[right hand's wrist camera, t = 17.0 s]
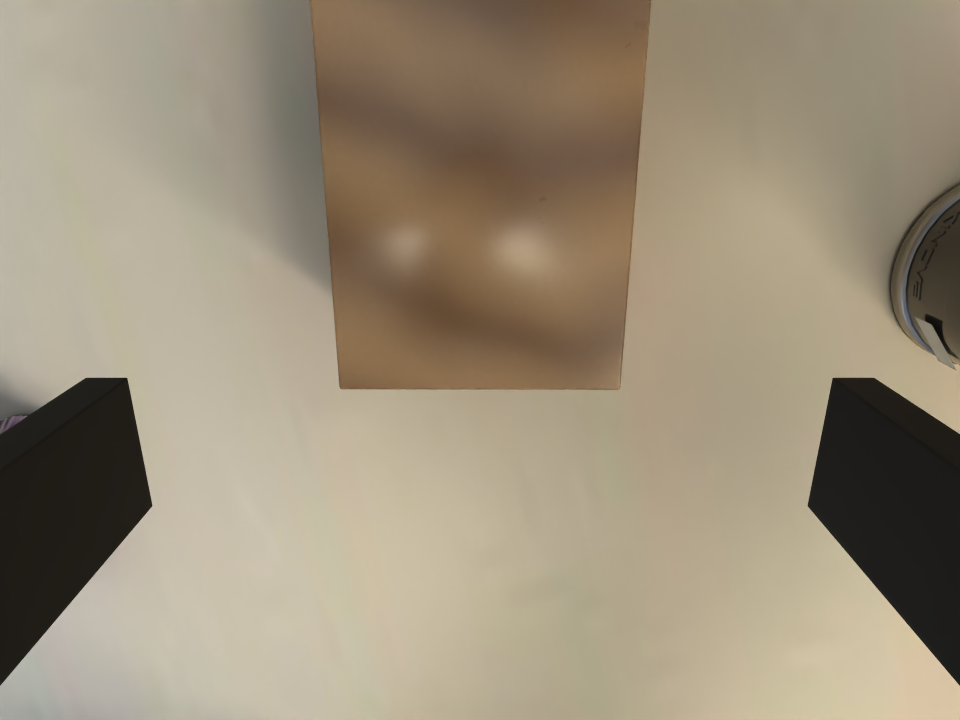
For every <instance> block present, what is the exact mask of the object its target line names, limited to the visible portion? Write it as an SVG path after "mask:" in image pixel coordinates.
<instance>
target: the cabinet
mask: <svg viewBox="0 0 960 720" xmlns="http://www.w3.org/2000/svg"><path fill="white" fill-rule="evenodd" d="M310 8H311V21H312V34H313V47H314V60H315V73H316V86H317V99H318V112H319V125H320V138H321V151H322V164H323V177H324V190H325V203H326V216H327V229H328V243H329V256H330V269H331V282H332V295H333V308H334V321H335V334H336V347H337V360H338V373H339V386H340V389H607V390H618V389H620V384H621V371H622V359H623V346H624V334H625V321H626V309H627V296H628V284H629V271H630V258H631V246H632V233H633V221H634V208H635V196H636V183H637V171H638V158H639V146H640V133H641V121H642V108H643V96H644V83H645V71H646V58H647V46H648V33H649V21H650V8H651V0H310Z"/></svg>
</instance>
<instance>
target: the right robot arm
mask: <svg viewBox="0 0 960 720" xmlns="http://www.w3.org/2000/svg"><path fill="white" fill-rule="evenodd" d="M151 507H152V502H151V496H150V491H149V486H148V481H147V476H146V471H145V466H144V461H143V456H142V451H141V446H140V441H139V435H138V430H137V425H136V420H135V415H134V410H133V405H132V400H131V395H130V390H129V385H128V380H127V378H85V379H84V380H82V381H81V382H79V383H77V384H76V385H74V386H73V387H71V388H70V389H68V390H67V391H65V392H64V393H62V394H61V395H59V396H58V397H56V398H55V399H53V400H52V401H50V402H49V403H47V404H46V405H44V406H42V407H41V408H39V409H38V410H36V411H35V412H33V413H32V414H30V415H29V416H27V417H26V418H24V419H23V420H21V421H20V422H18V423H17V424H15V425H14V426H12V427H11V428H9V429H7V430H6V431H4V432H3V433H1V434H0V685H1V684H2V683H3V682H4V681H5V679H6V678H7V677H8V676H9V675H10V673H11V672H12V671H13V670H14V669H15V668H16V666H17V665H18V664H19V663H20V662H21V660H22V659H23V658H24V657H25V656H26V655H27V653H28V652H29V651H30V650H31V649H32V647H33V646H34V645H35V644H36V643H37V642H38V640H39V639H40V638H41V637H42V636H43V634H44V633H45V632H46V631H47V630H48V629H49V627H50V626H51V625H52V624H53V623H54V622H55V620H56V619H57V618H58V617H59V616H60V614H61V613H62V612H63V611H64V610H65V609H66V607H67V606H68V605H69V604H70V603H71V601H72V600H73V599H74V598H75V597H76V596H77V594H78V593H79V592H80V591H81V590H82V588H83V587H84V586H85V585H86V584H87V583H88V581H89V580H90V579H91V578H92V577H93V575H94V574H95V573H96V572H97V571H98V570H99V568H100V567H101V566H102V565H103V564H104V562H105V561H106V560H107V559H108V558H109V557H110V555H111V554H112V553H113V552H114V551H115V549H116V548H117V547H118V546H119V545H120V544H121V542H122V541H123V540H124V539H125V538H126V536H127V535H128V534H129V533H130V532H131V531H132V529H133V528H134V527H135V526H136V525H137V523H138V522H139V521H140V520H141V519H142V518H143V516H144V515H145V514H146V513H147V512H148V510H149V509H150V508H151ZM808 507H809V508H810V509H811V510H812V512H813V513H814V514H815V515H816V516H817V518H818V519H819V520H820V521H821V522H822V523H823V525H824V526H825V527H826V528H827V529H828V531H829V532H830V533H831V534H832V535H833V536H834V538H835V539H836V540H837V541H838V542H839V544H840V545H841V546H842V547H843V548H844V549H845V551H846V552H847V553H848V554H849V555H850V557H851V558H852V559H853V560H854V561H855V562H856V564H857V565H858V566H859V567H860V568H861V570H862V571H863V572H864V573H865V574H866V575H867V577H868V578H869V579H870V580H871V581H872V583H873V584H874V585H875V586H876V587H877V588H878V590H879V591H880V592H881V593H882V594H883V596H884V597H885V598H886V599H887V600H888V601H889V603H890V604H891V605H892V606H893V607H894V609H895V610H896V611H897V612H898V613H899V614H900V616H901V617H902V618H903V619H904V620H905V622H906V623H907V624H908V625H909V626H910V627H911V629H912V630H913V631H914V632H915V633H916V634H917V636H918V637H919V638H920V639H921V640H922V642H923V643H924V644H925V645H926V646H927V647H928V649H929V650H930V651H931V652H932V653H933V655H934V656H935V657H936V658H937V659H938V660H939V662H940V663H941V664H942V665H943V666H944V668H945V669H946V670H947V671H948V672H949V673H950V675H951V676H952V677H953V678H954V679H955V681H956V682H957V683H958V684H959V685H960V434H959V433H957V432H956V431H954V430H953V429H951V428H949V427H948V426H946V425H945V424H943V423H942V422H940V421H939V420H937V419H936V418H934V417H933V416H931V415H930V414H928V413H927V412H925V411H924V410H922V409H921V408H919V407H918V406H916V405H914V404H913V403H911V402H910V401H908V400H907V399H905V398H904V397H902V396H901V395H899V394H898V393H896V392H895V391H893V390H892V389H890V388H889V387H887V386H886V385H884V384H883V383H881V382H879V381H878V380H876V379H875V378H833V380H832V385H831V390H830V395H829V400H828V405H827V410H826V415H825V420H824V425H823V430H822V435H821V441H820V446H819V451H818V456H817V461H816V466H815V471H814V476H813V481H812V486H811V491H810V496H809V502H808Z"/></svg>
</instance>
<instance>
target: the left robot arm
mask: <svg viewBox="0 0 960 720" xmlns="http://www.w3.org/2000/svg"><path fill="white" fill-rule="evenodd" d="M891 296H892V304H893V309H894V312H895V315H896V318H897V320H898V322H899V324H900V326H901V327H902V329H903V331H904V332H905V333H906V334H907V336H908V337H909V338H910V339H911V340H912V341H913V342H914V343H916V344H917V345H918V346H919V347H921V348H922V349H924V350H926V351H928V352H929V353H931V354H933V355H935V356H936V357H937V359H938V361H940V362H942V363H943V364H945V365H947V366H949V367H951V368H953V369H955V367H954V365H953V363H954V364H958V365H960V185H958V186H956V187H955V188H953V189H951V190H950V191H949V192H947V193H946V194H944V195H943V196H942V197H940V198H939V199H938V200H937V201H935V202H934V203H933V204H932V205H931V206H930V207H929V208H928V209H927V210H926V211H925V212H924V213H923V214H922V215H921V217H920V218H919V219H918V220H917V221H916V223H915V224H914V225H913V227H912V228H911V230H910V231H909V233H908V234H907V236H906V238H905V240H904V242H903V244H902V245H901V248H900V250H899V253H898V255H897V258H896V261H895V264H894V269H893V273H892V281H891ZM955 370H956V369H955Z"/></svg>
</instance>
